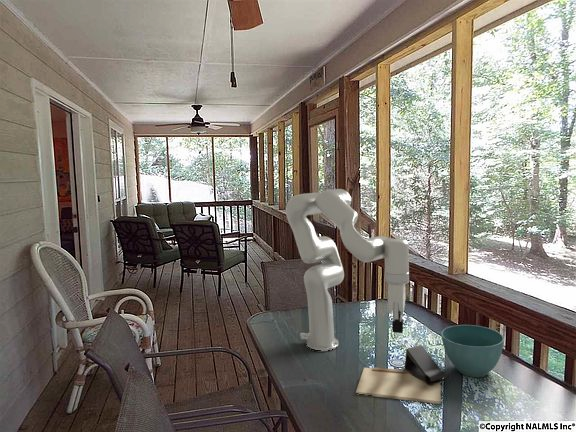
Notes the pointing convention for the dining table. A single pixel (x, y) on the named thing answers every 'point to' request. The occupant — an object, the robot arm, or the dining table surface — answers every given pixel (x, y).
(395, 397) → the board
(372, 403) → the dining table surface
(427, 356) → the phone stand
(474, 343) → the plant pot
